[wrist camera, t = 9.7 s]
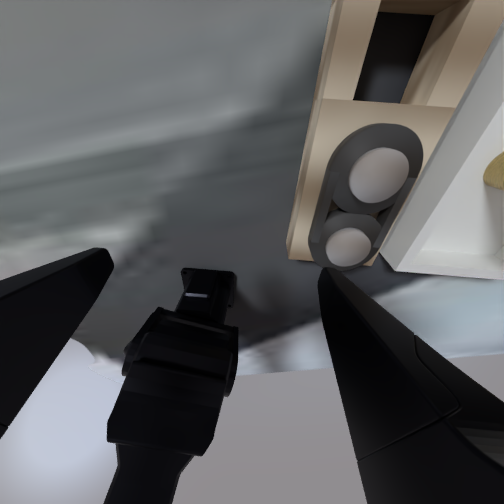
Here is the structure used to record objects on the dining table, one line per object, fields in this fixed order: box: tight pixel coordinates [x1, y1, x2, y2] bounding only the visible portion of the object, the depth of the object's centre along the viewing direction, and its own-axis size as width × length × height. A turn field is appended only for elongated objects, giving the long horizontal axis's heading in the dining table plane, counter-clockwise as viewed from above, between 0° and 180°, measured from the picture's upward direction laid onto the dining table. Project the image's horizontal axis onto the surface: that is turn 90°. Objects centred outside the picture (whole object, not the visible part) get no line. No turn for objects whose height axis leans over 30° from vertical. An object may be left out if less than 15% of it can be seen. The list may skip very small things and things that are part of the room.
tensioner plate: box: [286, 0, 504, 271], centre depth 14 cm, size 18×8×5 cm, turn 177°
